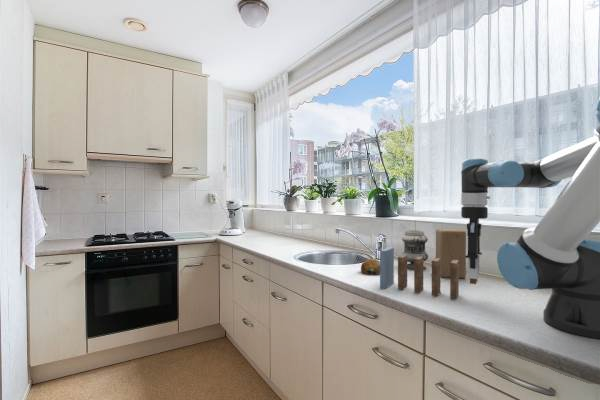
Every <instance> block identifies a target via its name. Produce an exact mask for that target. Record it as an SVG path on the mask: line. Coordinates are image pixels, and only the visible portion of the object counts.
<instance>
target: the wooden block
mask: <svg viewBox="0 0 600 400" xmlns="http://www.w3.org/2000/svg"><path fill="white" fill-rule="evenodd" d="M466 256H467V233H466V231H464V230H463V229H459V228H436V230H435V258H440V259H441V270H440V278H441V277H442V278H449V279H450V263H451V261H452V260H459V279H465V278H466V276H467V272H466V271H467V258H466Z"/></svg>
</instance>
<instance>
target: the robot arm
mask: <svg viewBox="0 0 600 400" xmlns="http://www.w3.org/2000/svg"><path fill="white" fill-rule="evenodd" d="M595 111H597V113H596V114H595V116H596V121H597V123H598V125H597V126H596V128H595V129H594V133H595V135H594V136H592V137H590V138H587V139H585V140H583V141H580V142H579V143H576V144H574V145H571V146H570V147H566V148H564V149H562V150H559V151H558V152H557V151H556V152H555V153H552V154H550V155H549V156H546V157H543V158H541V159H538V160H536V161H533V162H528V161H527V162H525V161H524V162H522V161H520V162H519V161H516V160H499V161H495V162H489V161H488V159H486V158H469V159H465V160H463V161H462V162H461V172H460V173H461V193H460V195H461V196H460V198H461V199H460V201H461V202H460V203H461V204H460V205H462V207H460V208H461V209H460V210H461V218H463V219H468V220H469V222H468V223H466V229H467V233H466V237H467V253H466V259H467V279H470V278H473V279H479V275H480V256H482V255H483V253H482V251H481V247H480V245H481V242H480V241H481V240H480V239H481V235H482V231H481V229H482V223H480V220H479V219H481V220H482V219H484V220H485V219H488V217H489V216H488V214H489V213H488V212H489V211H488V209H489V208H488V207H487V205H488V203H489V202H488V200H490V199H491V197H490V195H488V193H489V188H533V189H534V188H536V189H545V188H553V187H556V186H558V185H559V184H560V182H562V181H563V180H566V179H569V178H570V179H569V181H568V182H567V183H566V185H565V186H564V188H563V189H562V191H561V192H560V193H559V195H558V196H557V198H556V199H555V200H554V201H553V203H552V204H551V206H550V207H549V209H548V210H547V211H546V212H545V214H544V215H543V216H542V218H541V219H540V221H539V222H538V224H537V225H536V226H535V227H528V228H527V229H525V230H524V231H523V232H522V233H521V235H520V236H519V238H518V239H517V240H516V241H515V242H513V241H509V242H506V243H503V244H502V245H501V246H500V247H499V248H498V250H497V254H496V261H497V262H496V263H497V266H498V269H499V272H500V274H501V276H502V277H503V279H504V280H505V281H506V282H507V283H508V284H509V285H510V286H512V287H514V288H516V289H519V290H528V291H533V290H544V289H545V290H549V289H550V290H551V293H550V296H549V298H548V301H547V303H546V305H545V308H544V310H543V313H542V314H543V318H542V319H543V322H545V323H546V324H547V325H549V326H552V327H553V328H555V329H558V330H561V331H563V332H567V333H570V334H573V335H578V336H581V337H586V338H592V339H598V340H600V240H599V241H597V240H590V239H586V238H587V237H588V236H589V235H590V234H591V232H592V231H593V230H594V229H595V228H596V227H597V225H598V224H600V97H599V99H598V101H597V102H596V107H595ZM477 249H478V256H477ZM473 253H474V254H473Z"/></svg>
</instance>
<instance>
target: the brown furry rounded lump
mask: <svg viewBox="0 0 600 400" xmlns="http://www.w3.org/2000/svg"><path fill="white" fill-rule="evenodd" d="M360 272H361V274H364V275H370V276H379V275H380V260H378V259H376V258H368V259H366V260H365V261H363V262H362V264H361V266H360Z"/></svg>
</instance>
